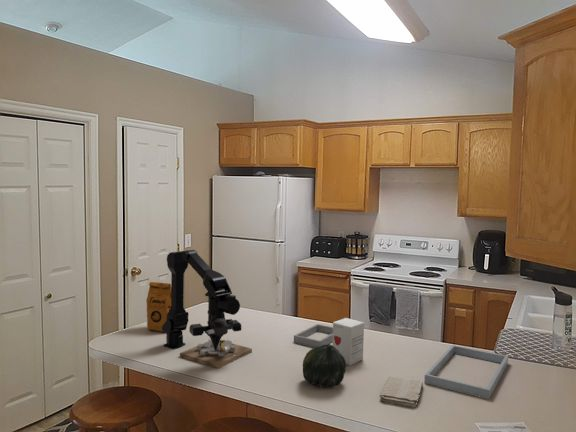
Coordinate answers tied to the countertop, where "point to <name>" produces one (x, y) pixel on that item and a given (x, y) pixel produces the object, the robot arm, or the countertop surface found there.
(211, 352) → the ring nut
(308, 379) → the squash
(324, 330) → the grey frame
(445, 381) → the slate carton frame
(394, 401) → the washcloth
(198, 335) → the robot arm
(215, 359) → the walnut base
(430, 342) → the countertop surface
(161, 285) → the coffee package
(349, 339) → the supplement box
